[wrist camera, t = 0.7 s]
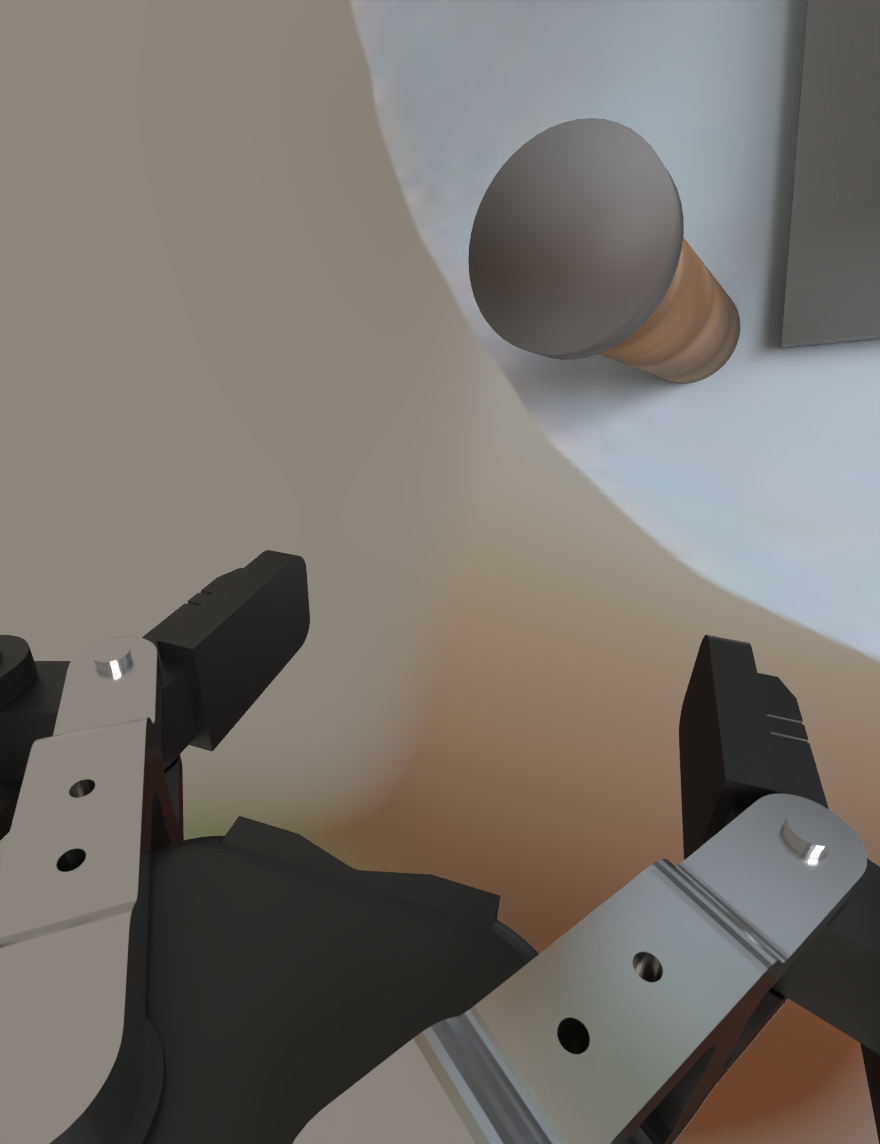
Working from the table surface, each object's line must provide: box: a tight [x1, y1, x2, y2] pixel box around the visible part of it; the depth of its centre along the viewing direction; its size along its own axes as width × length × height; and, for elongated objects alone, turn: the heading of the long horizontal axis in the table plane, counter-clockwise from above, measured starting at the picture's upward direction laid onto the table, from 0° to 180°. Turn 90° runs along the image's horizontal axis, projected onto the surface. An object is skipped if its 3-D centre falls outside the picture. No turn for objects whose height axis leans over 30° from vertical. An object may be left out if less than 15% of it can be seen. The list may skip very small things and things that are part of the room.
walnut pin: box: [469, 118, 740, 383], centre depth 23 cm, size 6×6×16 cm
